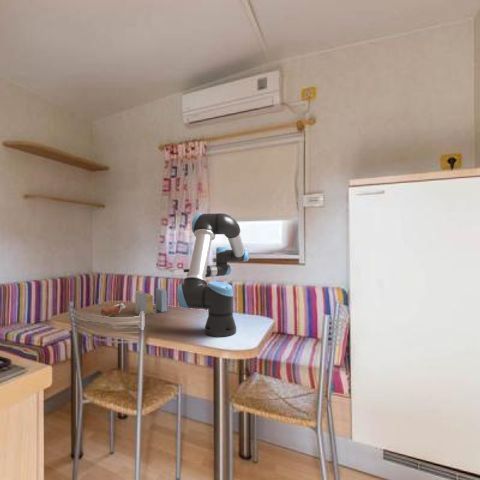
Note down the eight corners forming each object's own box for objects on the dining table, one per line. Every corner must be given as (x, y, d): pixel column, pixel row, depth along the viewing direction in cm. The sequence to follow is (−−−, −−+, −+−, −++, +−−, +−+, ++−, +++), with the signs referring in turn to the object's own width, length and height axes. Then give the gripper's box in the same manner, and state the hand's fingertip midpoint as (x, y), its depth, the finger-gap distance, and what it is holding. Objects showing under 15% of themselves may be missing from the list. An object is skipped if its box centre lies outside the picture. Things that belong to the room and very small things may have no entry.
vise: (162, 309, 181) (162, 288, 180) (169, 313, 172) (169, 291, 171) (134, 313, 171) (134, 291, 171) (139, 318, 162) (139, 294, 162)
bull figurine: (126, 317, 163) (126, 303, 163) (102, 323, 153) (102, 307, 153) (123, 316, 166) (123, 301, 166) (98, 321, 156) (98, 306, 156)
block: (148, 310, 174) (148, 293, 174) (152, 313, 168) (152, 295, 167) (141, 311, 172) (141, 294, 172) (145, 314, 165) (145, 296, 165)
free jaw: (160, 307, 179) (160, 288, 179) (166, 311, 171) (166, 290, 171) (155, 308, 178) (155, 288, 177) (161, 311, 169) (161, 291, 169)
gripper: (218, 279, 182) (186, 282, 170) (200, 274, 202) (170, 277, 190) (218, 267, 182) (186, 269, 170) (200, 263, 202) (170, 265, 190)
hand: (177, 273), depth 180 cm, fingers open, 12 cm apart
